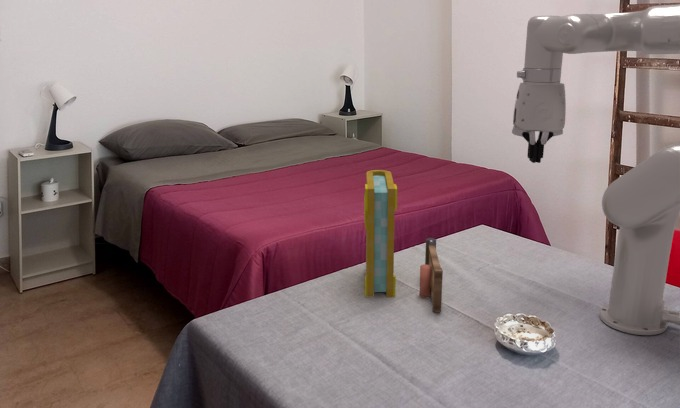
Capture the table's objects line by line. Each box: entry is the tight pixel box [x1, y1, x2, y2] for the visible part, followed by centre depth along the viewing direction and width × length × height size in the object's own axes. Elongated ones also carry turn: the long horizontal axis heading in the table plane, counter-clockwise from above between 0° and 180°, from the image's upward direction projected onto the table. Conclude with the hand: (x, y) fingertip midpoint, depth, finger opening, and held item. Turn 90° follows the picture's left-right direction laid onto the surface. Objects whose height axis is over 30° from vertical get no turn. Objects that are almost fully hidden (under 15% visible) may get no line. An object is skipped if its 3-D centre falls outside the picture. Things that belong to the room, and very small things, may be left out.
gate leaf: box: [428, 245, 444, 313], centre depth 136 cm, size 16×2×9 cm, turn 177°
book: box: [363, 169, 398, 298], centre depth 142 cm, size 17×7×25 cm, turn 179°
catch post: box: [418, 263, 431, 299], centre depth 137 cm, size 2×2×7 cm
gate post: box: [424, 237, 437, 265], centre depth 145 cm, size 2×2×10 cm
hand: (534, 161), depth 135 cm, fingers closed
